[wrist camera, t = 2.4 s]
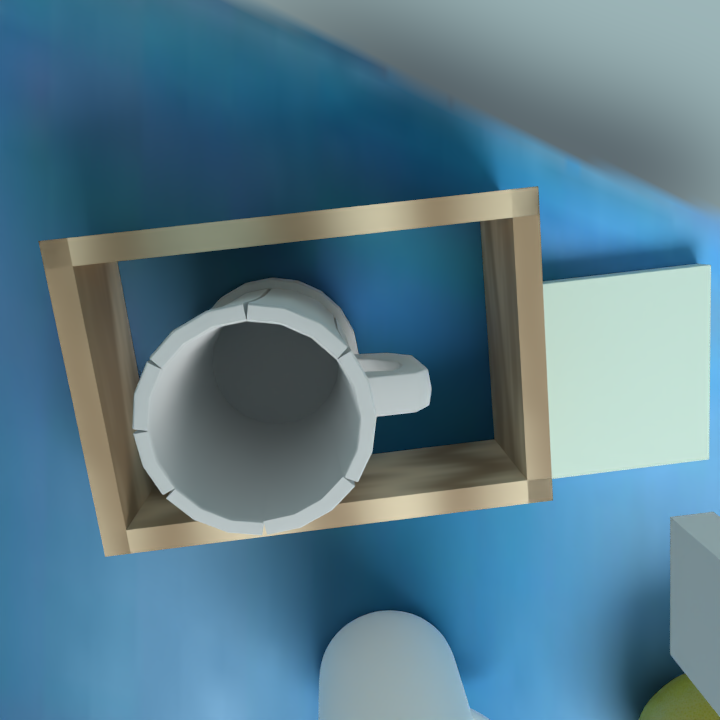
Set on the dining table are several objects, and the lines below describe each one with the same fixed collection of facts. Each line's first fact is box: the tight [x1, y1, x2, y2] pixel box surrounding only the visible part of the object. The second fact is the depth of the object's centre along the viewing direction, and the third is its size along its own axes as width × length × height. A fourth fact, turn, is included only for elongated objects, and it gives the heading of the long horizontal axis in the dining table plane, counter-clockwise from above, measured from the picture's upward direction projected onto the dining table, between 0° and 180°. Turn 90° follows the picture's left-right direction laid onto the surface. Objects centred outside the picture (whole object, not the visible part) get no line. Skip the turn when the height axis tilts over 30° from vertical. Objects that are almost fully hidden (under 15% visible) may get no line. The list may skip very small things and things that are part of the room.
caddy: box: [39, 187, 553, 557], centre depth 32 cm, size 22×15×6 cm
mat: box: [543, 264, 711, 479], centre depth 35 cm, size 11×11×1 cm
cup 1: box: [132, 277, 432, 535], centre depth 29 cm, size 10×9×12 cm
